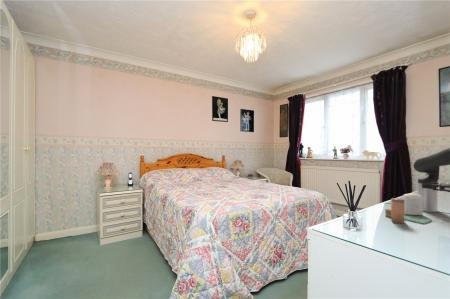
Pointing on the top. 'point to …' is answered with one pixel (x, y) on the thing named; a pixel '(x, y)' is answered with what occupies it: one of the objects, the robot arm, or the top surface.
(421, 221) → the green mat
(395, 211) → the canister
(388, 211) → the letter block
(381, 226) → the top surface
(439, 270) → the top surface
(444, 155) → the robot arm
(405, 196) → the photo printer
